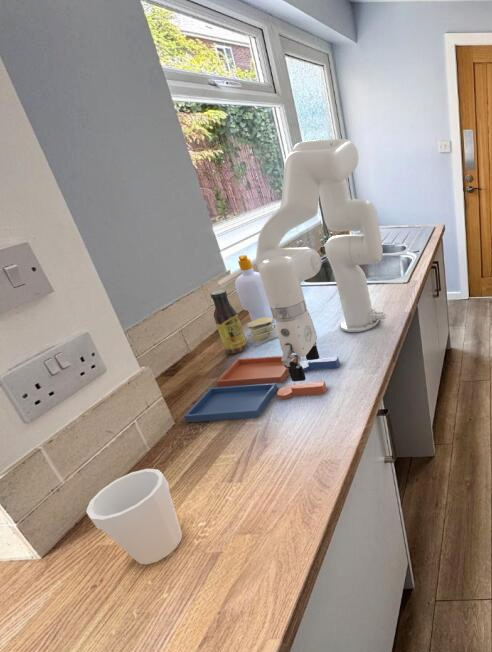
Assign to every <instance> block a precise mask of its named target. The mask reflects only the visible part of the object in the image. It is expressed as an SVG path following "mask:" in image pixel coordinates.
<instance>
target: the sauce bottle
mask: <svg viewBox="0 0 492 652" xmlns="http://www.w3.org/2000/svg"><path fill="white" fill-rule="evenodd" d="M209 294H210V298H211V299H212V301H213V305H214V307H215V308H214V311H213V318H214V322H215V325H216V328H217V331H218V335H219V337H220V339H221V343H222V346H223V348H224V349H225V350H224V351H225V352H226V354H229V355H230V354H231V355H234V354H238V353H240V352H243V351H245V350H246V349H247V348H248V341H247V340H246V334H245V332H244V328H243V325H242V322H241V319H240V316H239V314H238V312H237V311H236V310H235V309H234V307H233V306H232V304H231V303H230V301H229V298H228V292H227V290H225V289H218V290H214V291H212V292H210V293H209Z"/></svg>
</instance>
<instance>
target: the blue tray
mask: <svg viewBox="0 0 492 652" xmlns="http://www.w3.org/2000/svg"><path fill="white" fill-rule="evenodd" d="M278 387H279V386H278V383H269V384H256V385H242V386H229V387H219V386H215V387H210V388H209V389H208V390H207V391H206V392H205V393H204V394H203V395H202V396H201V397H200V398H199V399H198V400H197V402H196V403H195V404H193V406H192V407H191V408H190V409H189V410H188V411H187V412H186V413H185V414H184V415H183V418H184V420H185V422H186V423H188V424H189V423H199V422H213V421H223V420H225V421H226V420H239V419H251V418H259V417H260V416H261V415H262V413H263V412H264V410H265V409H266V408H267V406H268V404H269V403H270V402H271V400H272V399H273V397H274V396H275V395H276V394H277V391H278V390H279V388H278Z"/></svg>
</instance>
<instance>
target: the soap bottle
mask: <svg viewBox="0 0 492 652" xmlns="http://www.w3.org/2000/svg"><path fill="white" fill-rule="evenodd" d="M238 259H239V260H238V262H237V263H238V266H239V268H240V272H241V274H240V275H239V276H238V277H237V278H236V279H235V282H234V287H235V291H236V294H237V296H238V299H239V302H240V305H241V307H242V309H243V311H246V312H248V314H249V318H250V320H251V322H252V321H254V320H256V319H259V318H262V317H268V318H273V315H272V312H271V309H270V305H269V302H268V299H267V296H266V292H265V289H264V286H263V283H262V279H261V276H260V273H259V271H255V270H254V268H253V264H252V261H251V259H250V258H248V255H247V254H241V255H239V256H238ZM273 319H274V318H273Z"/></svg>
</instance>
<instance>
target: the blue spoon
mask: <svg viewBox="0 0 492 652" xmlns="http://www.w3.org/2000/svg"><path fill="white" fill-rule="evenodd" d="M340 363H341V362H340V357H339V356H328V357H319V359H316V360H302V361H300V366H302V367H303V370H304V373H306V372H308V371H312V370H324V369H325V370H326V369H338V368H339V366H340Z"/></svg>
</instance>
